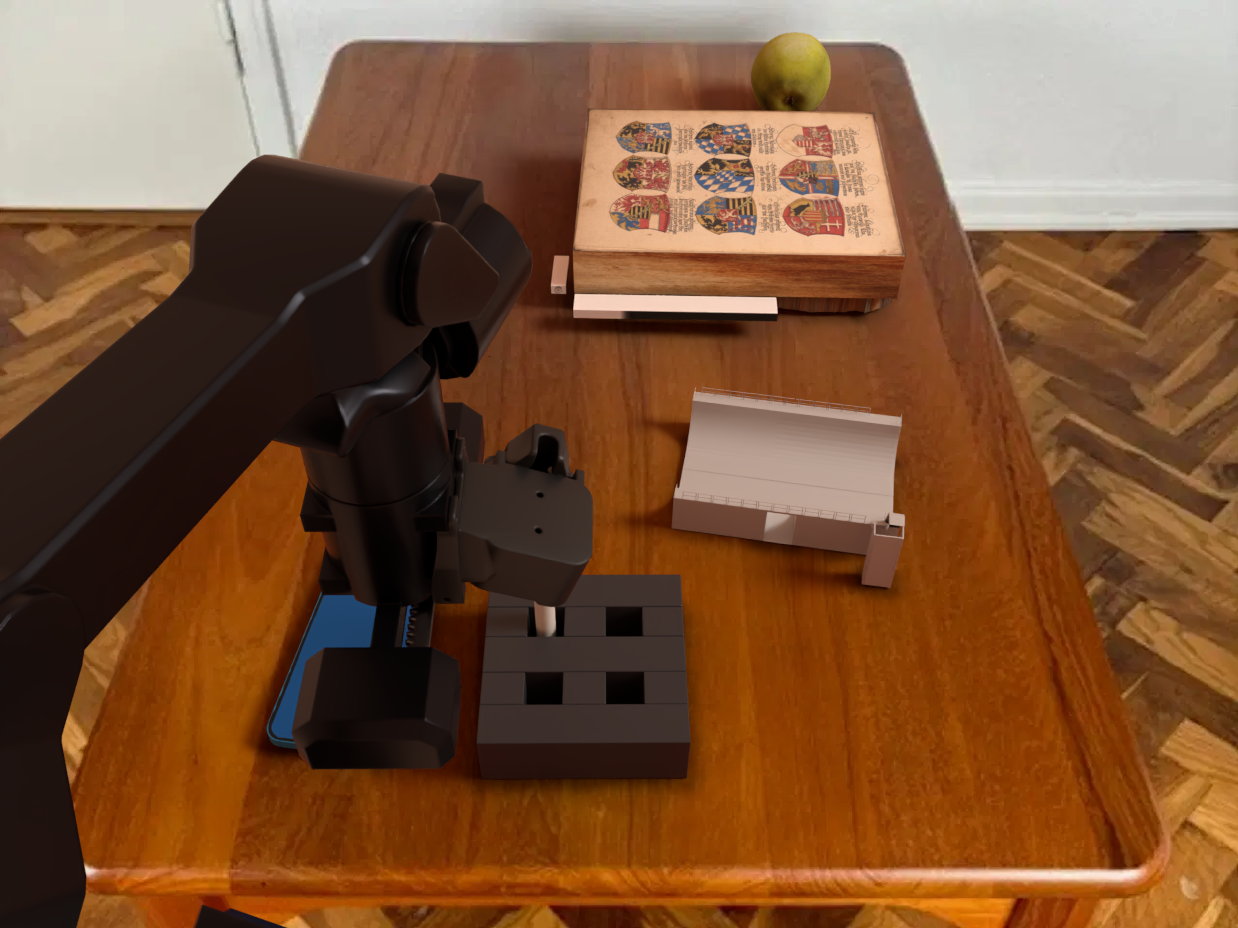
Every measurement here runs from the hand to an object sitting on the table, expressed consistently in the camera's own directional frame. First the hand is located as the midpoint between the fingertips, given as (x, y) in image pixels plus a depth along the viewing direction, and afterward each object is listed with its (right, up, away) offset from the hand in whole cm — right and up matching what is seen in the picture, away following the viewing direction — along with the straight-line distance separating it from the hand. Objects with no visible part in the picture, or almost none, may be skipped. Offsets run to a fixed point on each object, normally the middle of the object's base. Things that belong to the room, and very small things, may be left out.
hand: (421, 673), depth 59 cm
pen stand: (+8, -4, +15) cm, 17 cm away
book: (+19, +29, +46) cm, 58 cm away
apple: (+27, +46, +62) cm, 81 cm away
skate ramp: (+21, +8, +26) cm, 34 cm away
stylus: (+5, -2, +16) cm, 17 cm away
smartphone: (-6, -2, +16) cm, 18 cm away
